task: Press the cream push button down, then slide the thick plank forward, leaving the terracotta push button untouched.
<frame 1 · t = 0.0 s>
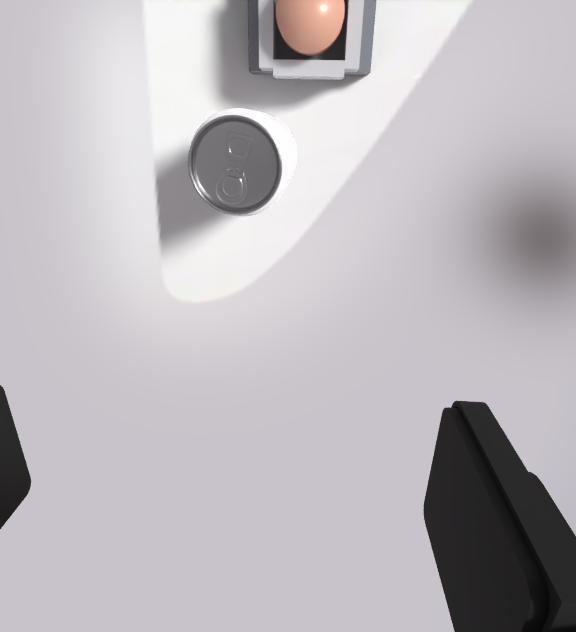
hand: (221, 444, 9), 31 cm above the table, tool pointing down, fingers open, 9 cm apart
terracotta button: (310, 15, 28), point 5 cm above the table, slide at 0.0 cm
can: (260, 154, 36), on the table
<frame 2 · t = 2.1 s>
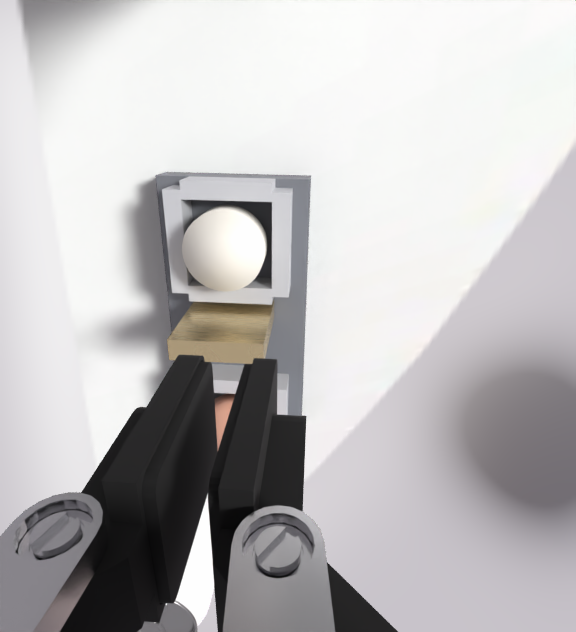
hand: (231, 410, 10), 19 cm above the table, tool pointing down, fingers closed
panel: (242, 314, 30), on the table
terracotta button: (233, 429, 29), point 5 cm above the table, slide at 0.0 cm
thick plank: (226, 327, 25), point 5 cm above the table, slide at 0.0 cm
can: (201, 474, 37), on the table
cream button: (226, 248, 24), point 4 cm above the table, slide at 0.0 cm
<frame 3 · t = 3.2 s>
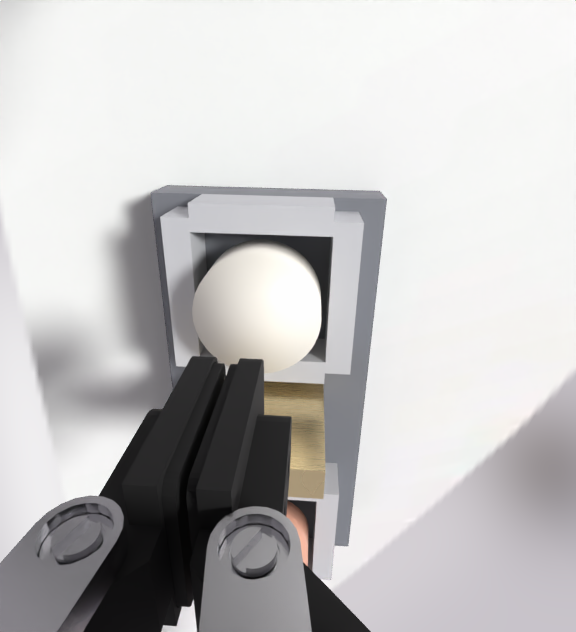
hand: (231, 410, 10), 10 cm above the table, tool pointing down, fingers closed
panel: (271, 379, 22), on the table
terracotta button: (262, 544, 21), point 4 cm above the table, slide at 0.0 cm
thick plank: (258, 421, 17), point 5 cm above the table, slide at 0.0 cm
can: (212, 568, 29), on the table
cream button: (259, 306, 15), point 4 cm above the table, slide at 0.0 cm
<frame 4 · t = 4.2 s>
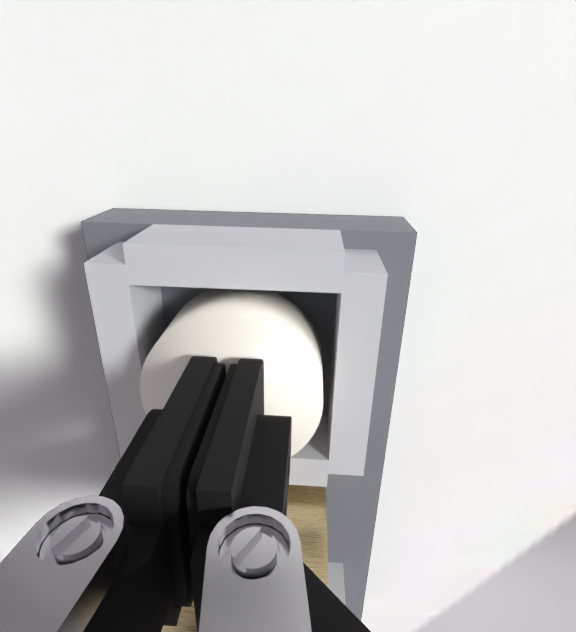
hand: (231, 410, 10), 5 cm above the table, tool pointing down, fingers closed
panel: (259, 451, 17), on the table
thick plank: (234, 545, 12), point 5 cm above the table, slide at 0.0 cm
cream button: (237, 377, 11), point 4 cm above the table, slide at 0.6 cm, touching gripper
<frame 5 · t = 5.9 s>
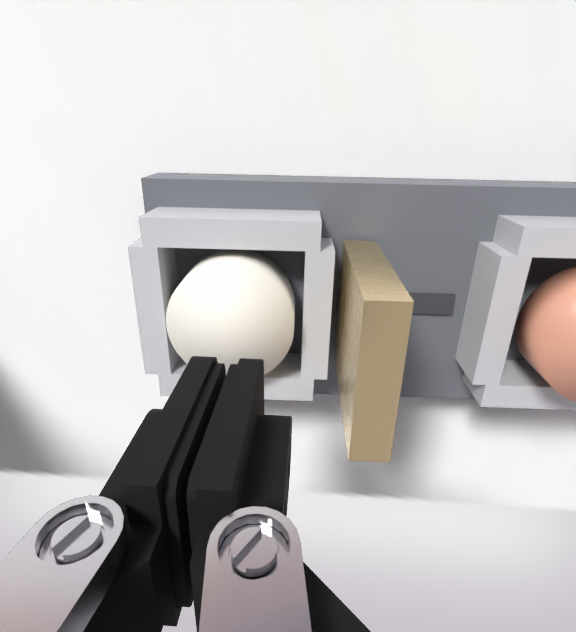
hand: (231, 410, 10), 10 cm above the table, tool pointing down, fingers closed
panel: (382, 284, 19), on the table
thick plank: (363, 337, 14), point 5 cm above the table, slide at 0.0 cm
cream button: (234, 315, 16), point 4 cm above the table, slide at 0.7 cm
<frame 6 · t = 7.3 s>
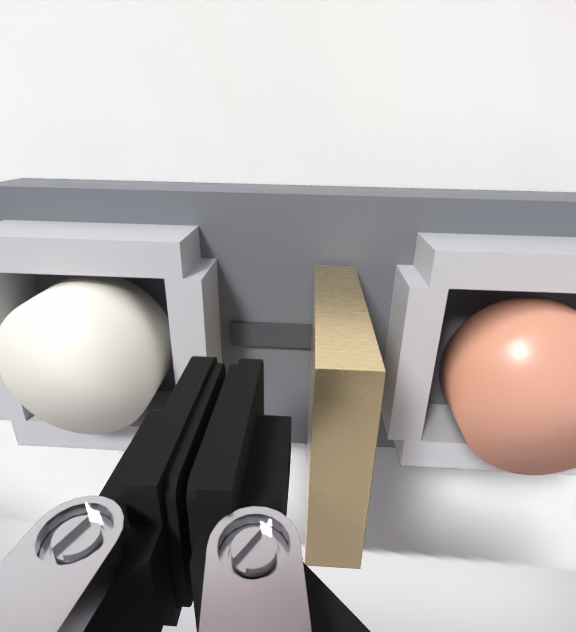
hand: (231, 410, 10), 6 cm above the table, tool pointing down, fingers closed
panel: (297, 310, 16), on the table
terracotta button: (531, 385, 12), point 4 cm above the table, slide at 0.0 cm
thick plank: (333, 392, 11), point 5 cm above the table, slide at 2.6 cm, touching gripper
cream button: (91, 353, 13), point 4 cm above the table, slide at 0.7 cm
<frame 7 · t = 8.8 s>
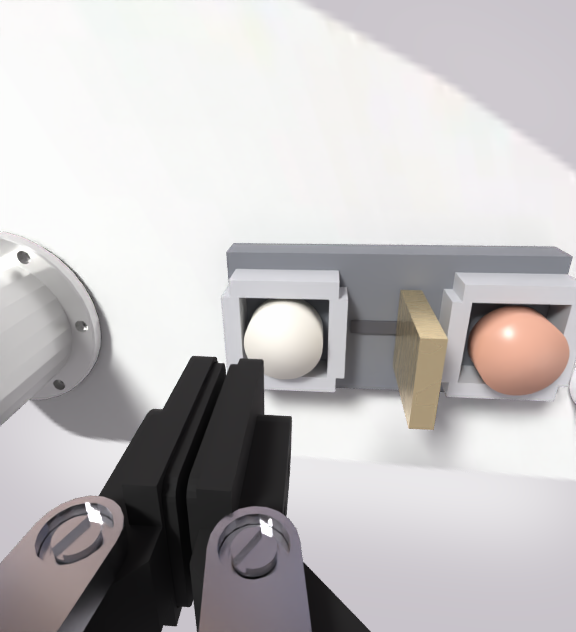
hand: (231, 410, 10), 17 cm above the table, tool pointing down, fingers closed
panel: (383, 313, 28), on the table
terracotta button: (515, 350, 23), point 4 cm above the table, slide at 0.0 cm
thick plank: (415, 354, 23), point 5 cm above the table, slide at 2.6 cm
cream button: (284, 337, 25), point 4 cm above the table, slide at 0.7 cm
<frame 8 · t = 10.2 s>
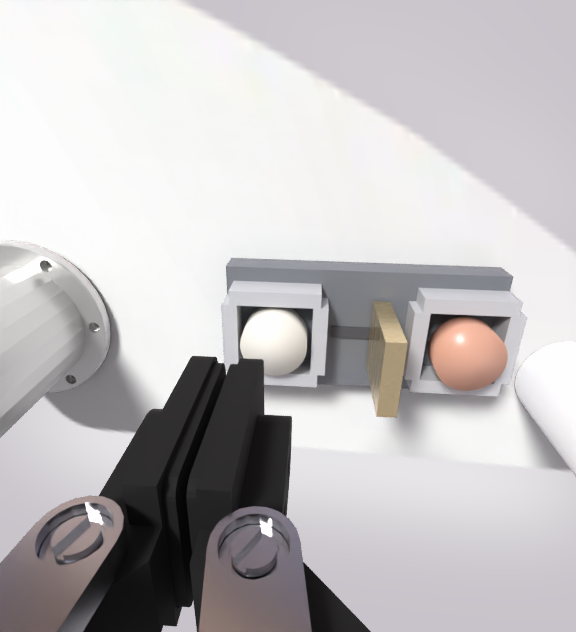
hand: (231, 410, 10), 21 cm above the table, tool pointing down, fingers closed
panel: (358, 320, 32), on the table
terracotta button: (465, 353, 28), point 4 cm above the table, slide at 0.0 cm
thick plank: (383, 355, 27), point 5 cm above the table, slide at 2.6 cm
can: (554, 374, 33), on the table
cream button: (274, 340, 29), point 4 cm above the table, slide at 0.7 cm
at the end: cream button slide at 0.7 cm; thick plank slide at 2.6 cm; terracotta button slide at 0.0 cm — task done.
